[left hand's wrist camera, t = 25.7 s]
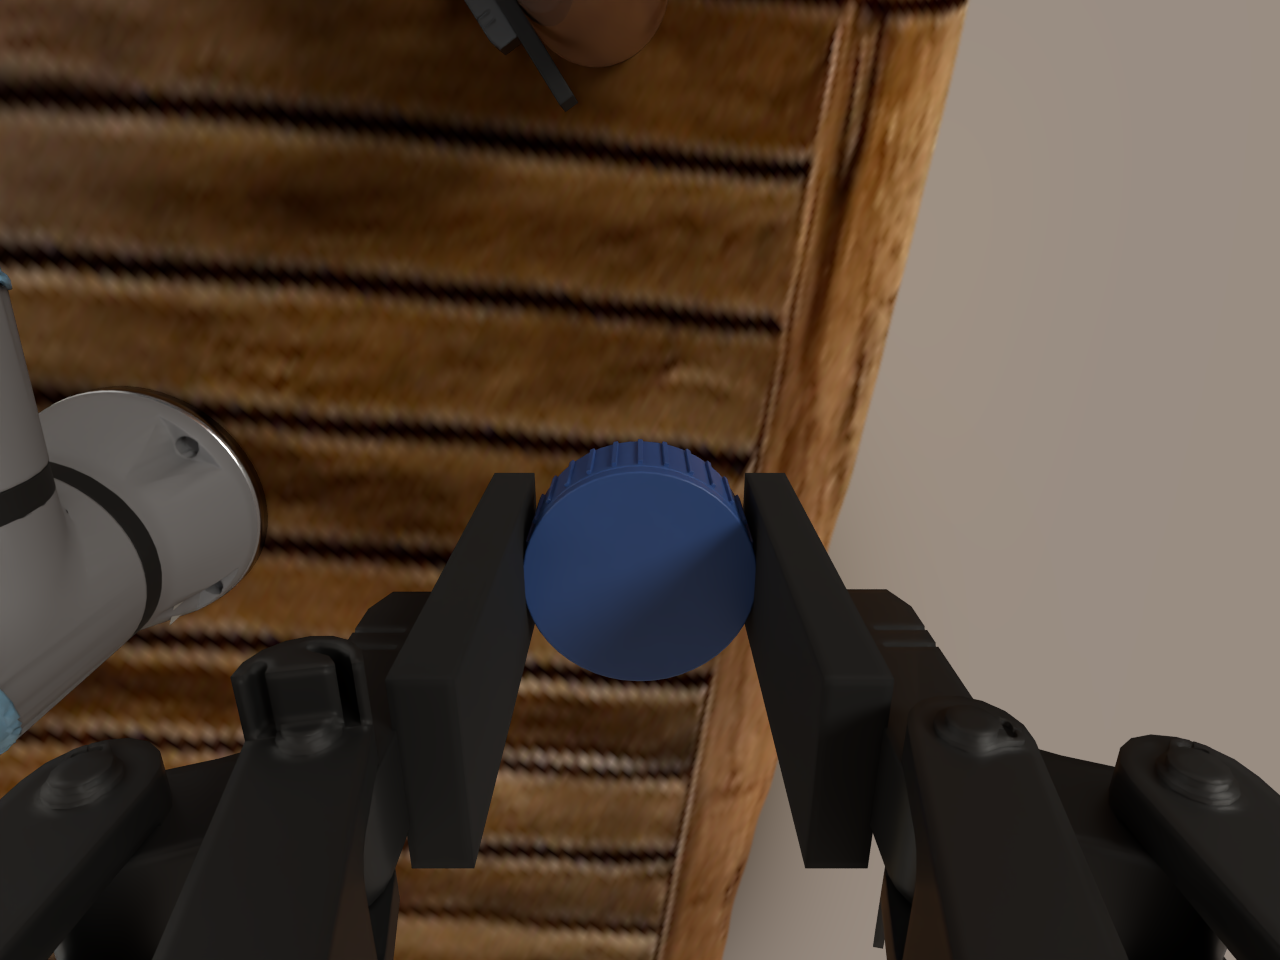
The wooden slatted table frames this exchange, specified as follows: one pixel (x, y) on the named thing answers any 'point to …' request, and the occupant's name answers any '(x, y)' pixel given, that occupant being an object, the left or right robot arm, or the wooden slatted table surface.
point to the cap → (639, 562)
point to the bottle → (594, 27)
